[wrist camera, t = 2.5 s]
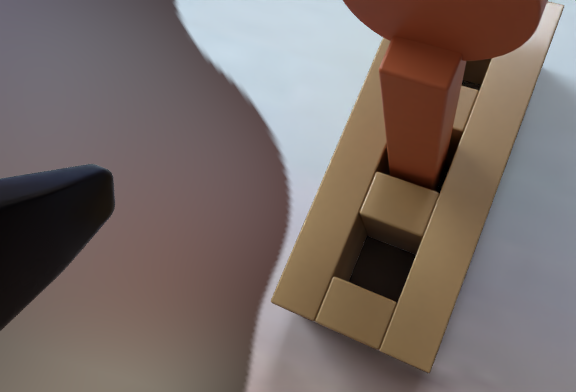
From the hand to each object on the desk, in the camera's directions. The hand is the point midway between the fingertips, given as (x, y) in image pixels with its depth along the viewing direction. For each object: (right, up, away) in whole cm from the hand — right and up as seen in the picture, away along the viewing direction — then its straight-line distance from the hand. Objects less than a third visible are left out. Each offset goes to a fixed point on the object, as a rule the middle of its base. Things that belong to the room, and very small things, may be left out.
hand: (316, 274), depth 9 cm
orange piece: (+5, +2, +12) cm, 13 cm away
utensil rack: (+5, +2, +12) cm, 13 cm away
